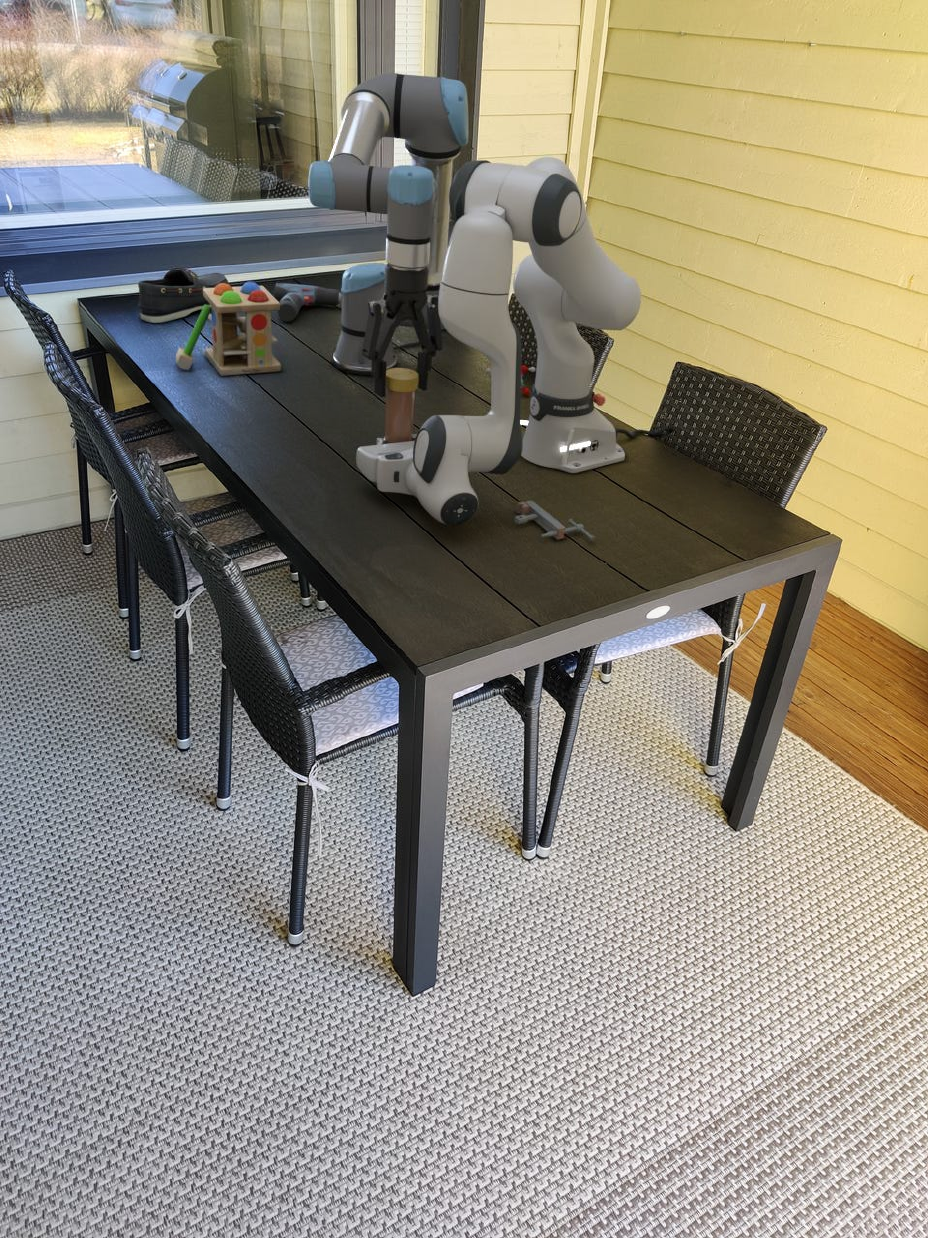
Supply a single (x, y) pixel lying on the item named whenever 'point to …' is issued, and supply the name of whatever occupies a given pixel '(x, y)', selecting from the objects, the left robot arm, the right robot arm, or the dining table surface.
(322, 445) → the dining table surface
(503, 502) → the dining table surface
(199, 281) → the boat shoe
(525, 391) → the molecular model
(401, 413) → the jar
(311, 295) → the power drill
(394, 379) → the lid
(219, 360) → the pounding bench toy
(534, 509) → the clamp
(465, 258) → the right robot arm
